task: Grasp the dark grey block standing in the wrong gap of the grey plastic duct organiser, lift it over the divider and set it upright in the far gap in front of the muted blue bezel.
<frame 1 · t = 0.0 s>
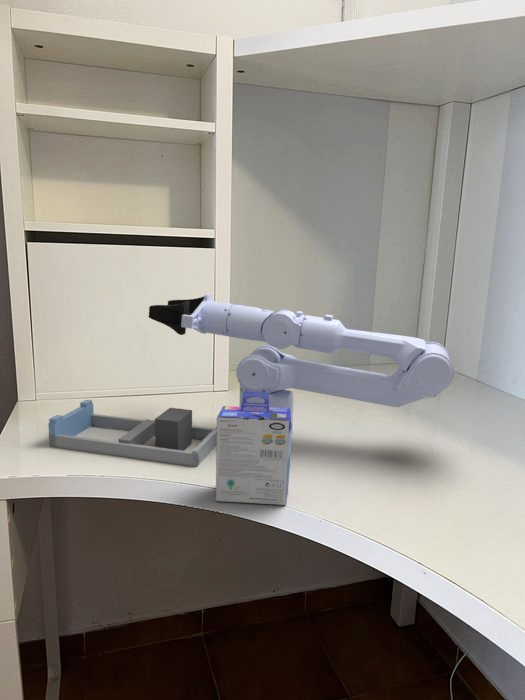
hand: (159, 308, 98), 22 cm above the table, tool horizontal, fingers open, 7 cm apart
dark grey block: (174, 448, 92), resting in duct organiser
ink cartridge box: (253, 496, 76), on the table
duct organiser: (137, 443, 93), on the table
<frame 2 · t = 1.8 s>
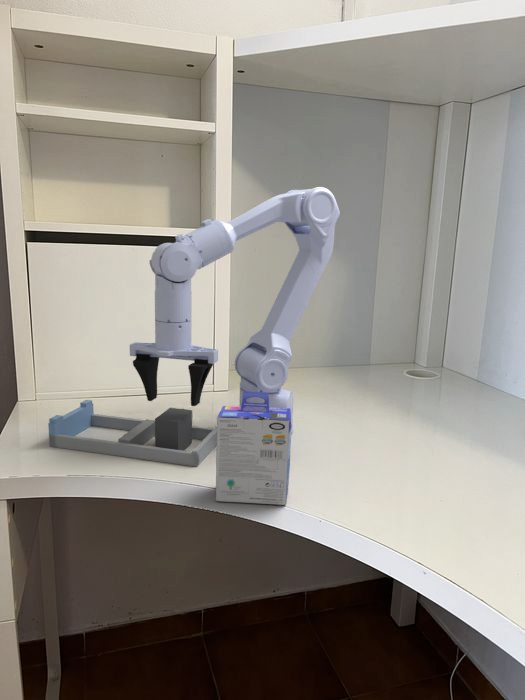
hand: (173, 401, 90), 8 cm above the table, tool pointing down, fingers open, 7 cm apart
nothing on the table moved.
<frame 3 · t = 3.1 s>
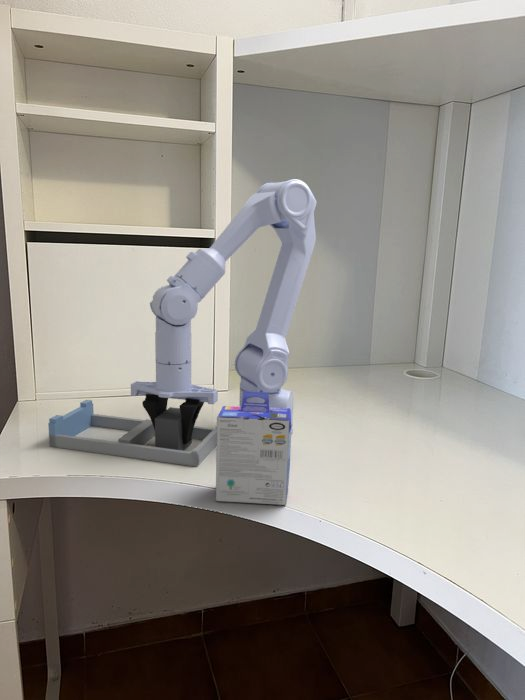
hand: (174, 440, 91), 1 cm above the table, tool pointing down, fingers closed on dark grey block, 4 cm apart
dark grey block: (174, 448, 92), resting in duct organiser, touching gripper
everything else where it was.
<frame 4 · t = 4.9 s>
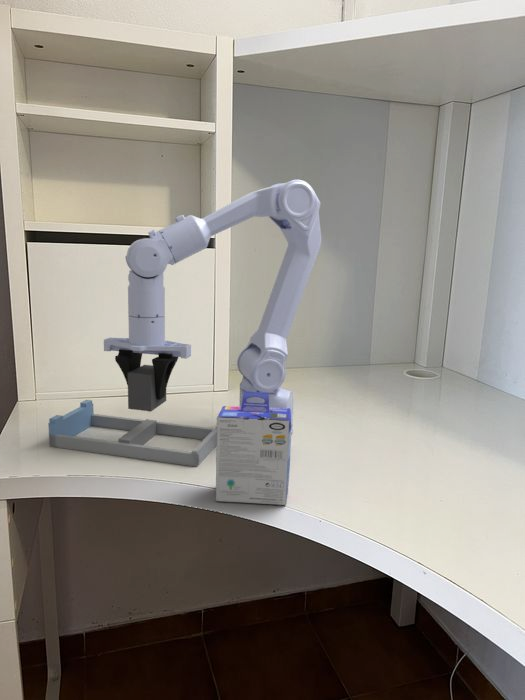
hand: (147, 396, 91), 9 cm above the table, tool pointing down, fingers closed on dark grey block, 4 cm apart
dark grey block: (147, 404, 91), point 7 cm above the table, touching gripper
everything else where it was.
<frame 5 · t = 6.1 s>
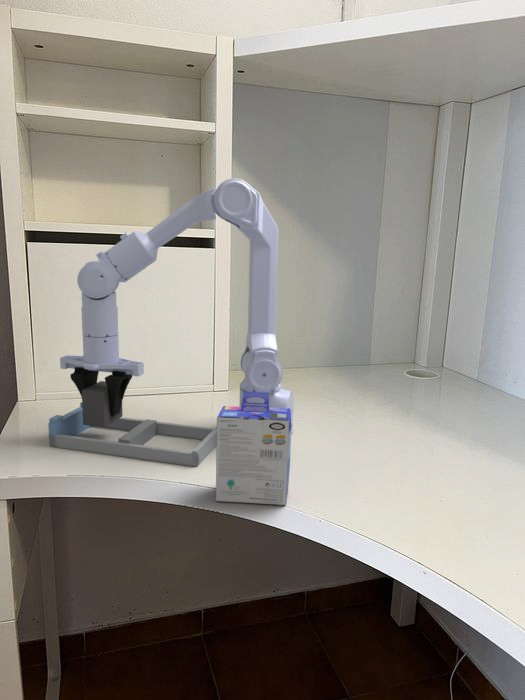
hand: (103, 412, 94), 5 cm above the table, tool pointing down, fingers closed on dark grey block, 4 cm apart
dark grey block: (103, 420, 94), point 3 cm above the table, touching gripper
everything else where it was.
when the fingers open (2 cm above the table, at t = 6.9 s): dark grey block drops 1 cm, resting in duct organiser.
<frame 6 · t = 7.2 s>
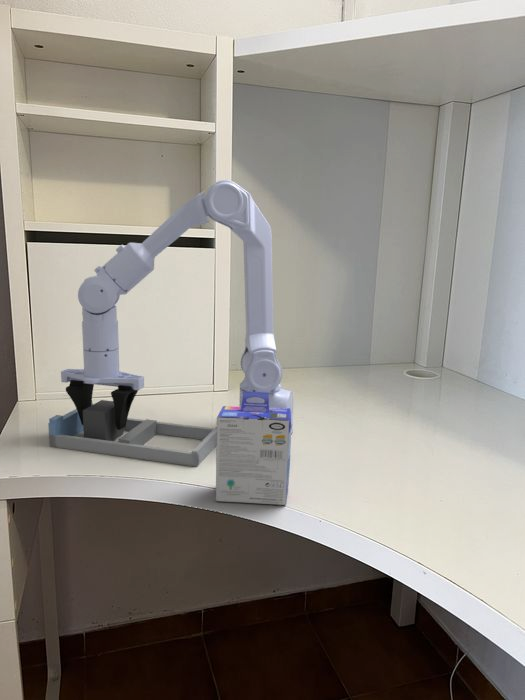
hand: (103, 425, 94), 2 cm above the table, tool pointing down, fingers open, 6 cm apart
dark grey block: (104, 439, 95), resting in duct organiser
everything else where it was.
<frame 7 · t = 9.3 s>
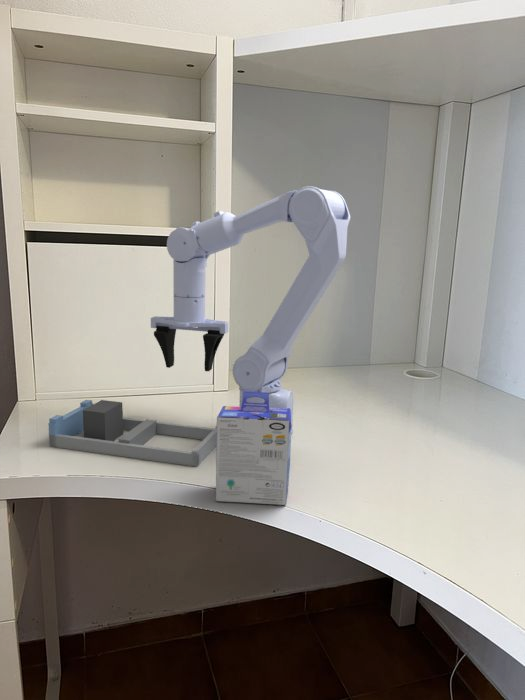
hand: (189, 368, 103), 10 cm above the table, tool pointing down, fingers open, 7 cm apart
nothing on the table moved.
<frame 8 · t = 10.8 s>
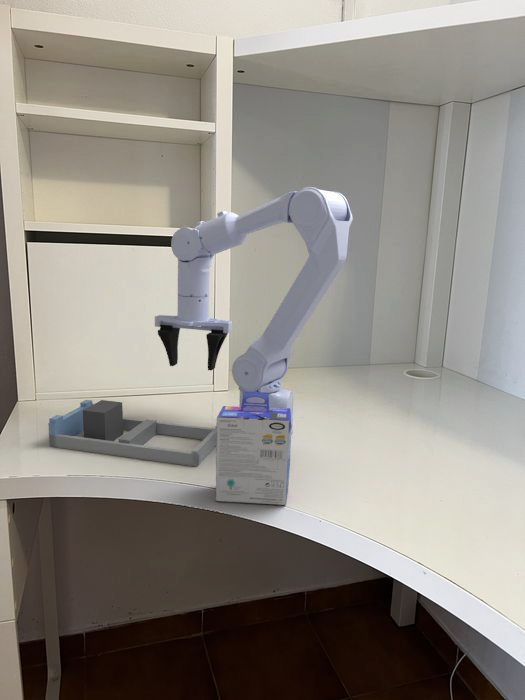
hand: (192, 367, 103), 10 cm above the table, tool pointing down, fingers open, 7 cm apart
nothing on the table moved.
at the end: dark grey block 0.0 cm from the target spot on the duct organiser, point 0.0 cm above the duct organiser's base; dark grey block tilted 0°; the gripper is holding nothing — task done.
